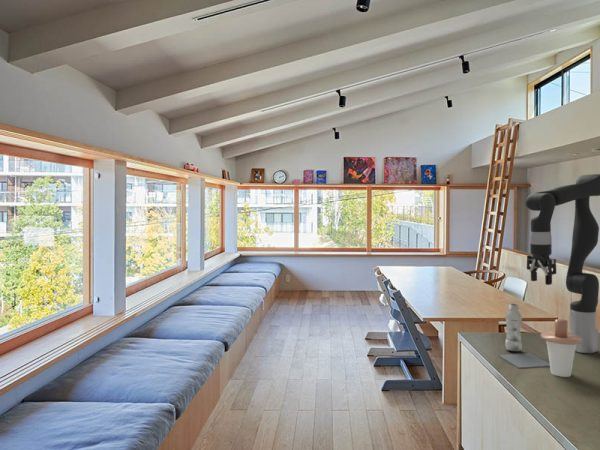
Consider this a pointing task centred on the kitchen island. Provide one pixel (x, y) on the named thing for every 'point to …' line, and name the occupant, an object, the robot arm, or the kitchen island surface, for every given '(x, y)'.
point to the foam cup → (561, 358)
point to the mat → (524, 360)
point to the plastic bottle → (513, 328)
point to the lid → (561, 334)
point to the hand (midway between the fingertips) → (541, 282)
